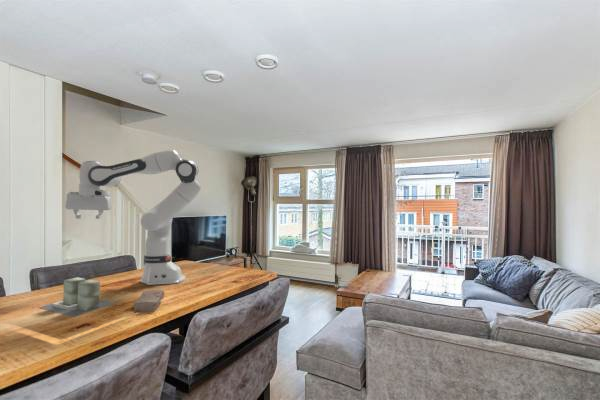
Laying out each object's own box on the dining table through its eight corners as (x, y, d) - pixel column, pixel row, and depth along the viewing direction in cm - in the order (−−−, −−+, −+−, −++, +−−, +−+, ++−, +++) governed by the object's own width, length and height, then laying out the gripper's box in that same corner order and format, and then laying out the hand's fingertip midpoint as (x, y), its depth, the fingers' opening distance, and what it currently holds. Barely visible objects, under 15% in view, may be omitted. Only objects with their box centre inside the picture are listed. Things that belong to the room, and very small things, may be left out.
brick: (155, 312, 112) (156, 300, 112) (132, 314, 110) (132, 301, 110) (164, 299, 128) (164, 288, 128) (143, 300, 126) (144, 289, 126)
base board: (81, 298, 125) (82, 293, 125) (116, 306, 117) (116, 300, 117) (37, 310, 110) (37, 305, 110) (73, 320, 102) (73, 314, 102)
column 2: (90, 304, 115) (91, 279, 115) (98, 306, 113) (99, 281, 113) (77, 308, 110) (78, 282, 110) (85, 310, 108) (86, 284, 108)
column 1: (76, 301, 118) (77, 277, 118) (84, 303, 116) (85, 278, 116) (62, 305, 113) (63, 280, 113) (70, 307, 111) (71, 281, 112)
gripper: (63, 191, 142) (61, 218, 142) (107, 192, 146) (106, 219, 145) (71, 191, 149) (69, 218, 148) (113, 193, 152) (112, 218, 151)
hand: (88, 218), depth 147 cm, fingers open, 8 cm apart
